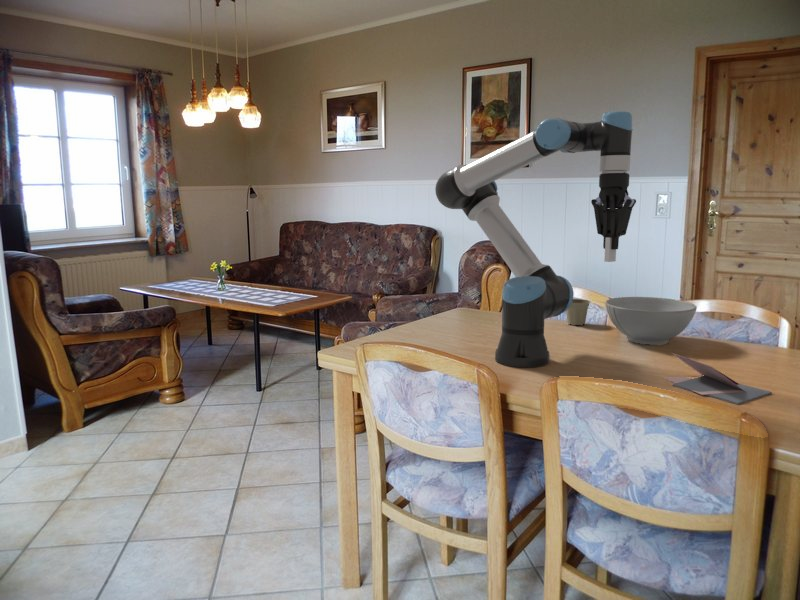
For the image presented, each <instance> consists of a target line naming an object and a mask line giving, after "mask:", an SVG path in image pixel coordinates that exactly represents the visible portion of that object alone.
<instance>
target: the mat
mask: <svg viewBox="0 0 800 600" xmlns="http://www.w3.org/2000/svg"><path fill="white" fill-rule="evenodd" d="M700 376H701V377H698V378H694V379H690V380H686V381H683V382H679V383H673V384H672V386H673V387H675V388H679V389H683V390H686V391H689V392H693V393H695V392H694V391H698V392H706V391H722V390H738V389H737V388H735V387H732V386H730V385H727V384H725V383H722V382H720V381H717V380H715V379H712V378H710V377H707V376H702V375H700ZM737 383H738V382H737ZM738 384H739V385H737V386H739V387H740V388H741V389H743V390H744V391H745V392H733V393H720V394H706V395H705V396H706V397H710V398H713V399H717V400H720V401H725V402H726V403H727V402H728V403H731V404H733V405H737V406H738V405H741V404H744V403H748V402H750V401H753V400H756V399H759V398H762V397H766V396H768V395H772V394H773V392H772V391H770V390H766V389H762V388H759V387H754V386H751V385H747V384H744V383H743V384H742V383H738ZM689 389H690V390H689ZM692 390H694V391H692ZM771 393H772V394H771Z"/></svg>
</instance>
